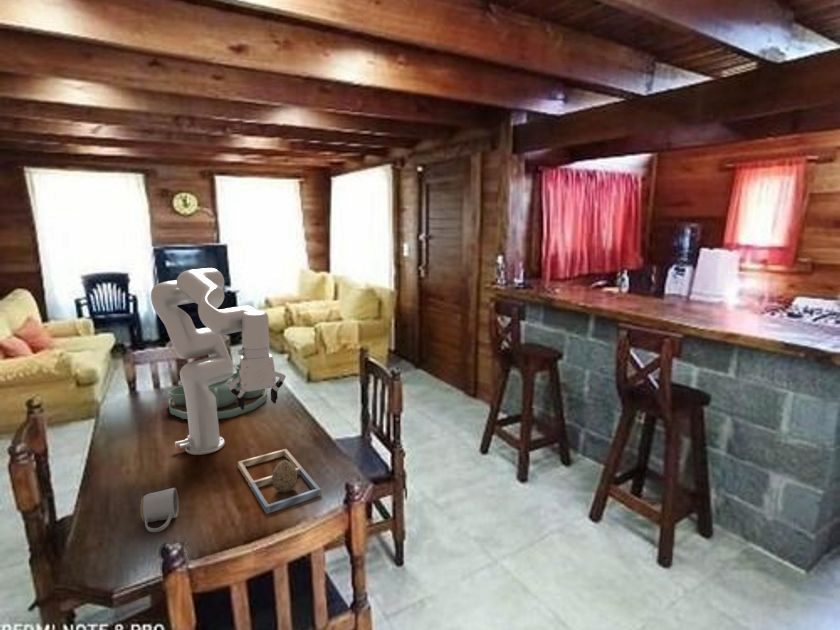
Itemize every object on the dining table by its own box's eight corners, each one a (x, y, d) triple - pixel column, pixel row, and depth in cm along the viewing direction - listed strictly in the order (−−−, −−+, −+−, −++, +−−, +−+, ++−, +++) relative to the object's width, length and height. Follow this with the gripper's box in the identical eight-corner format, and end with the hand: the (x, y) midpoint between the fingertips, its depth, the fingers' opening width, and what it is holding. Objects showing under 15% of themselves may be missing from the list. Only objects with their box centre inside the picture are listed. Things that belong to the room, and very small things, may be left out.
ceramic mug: (146, 512, 132) (143, 487, 130) (179, 506, 135) (176, 482, 133) (139, 537, 122) (135, 510, 120) (175, 530, 125) (171, 504, 123)
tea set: (244, 381, 237) (241, 349, 234) (282, 404, 209) (280, 368, 205) (156, 402, 211) (151, 366, 207) (186, 431, 182) (182, 390, 179)
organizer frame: (266, 514, 132) (265, 507, 131) (238, 467, 156) (237, 461, 155) (321, 495, 140) (320, 489, 140) (286, 454, 165) (286, 448, 164)
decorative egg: (283, 482, 147) (281, 452, 145) (302, 487, 144) (301, 457, 142) (267, 494, 141) (265, 463, 139) (287, 500, 138) (286, 468, 136)
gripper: (228, 359, 136) (231, 415, 140) (288, 351, 145) (289, 404, 149) (222, 352, 142) (225, 405, 146) (280, 345, 151) (281, 395, 155)
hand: (257, 404), depth 148 cm, fingers open, 9 cm apart
